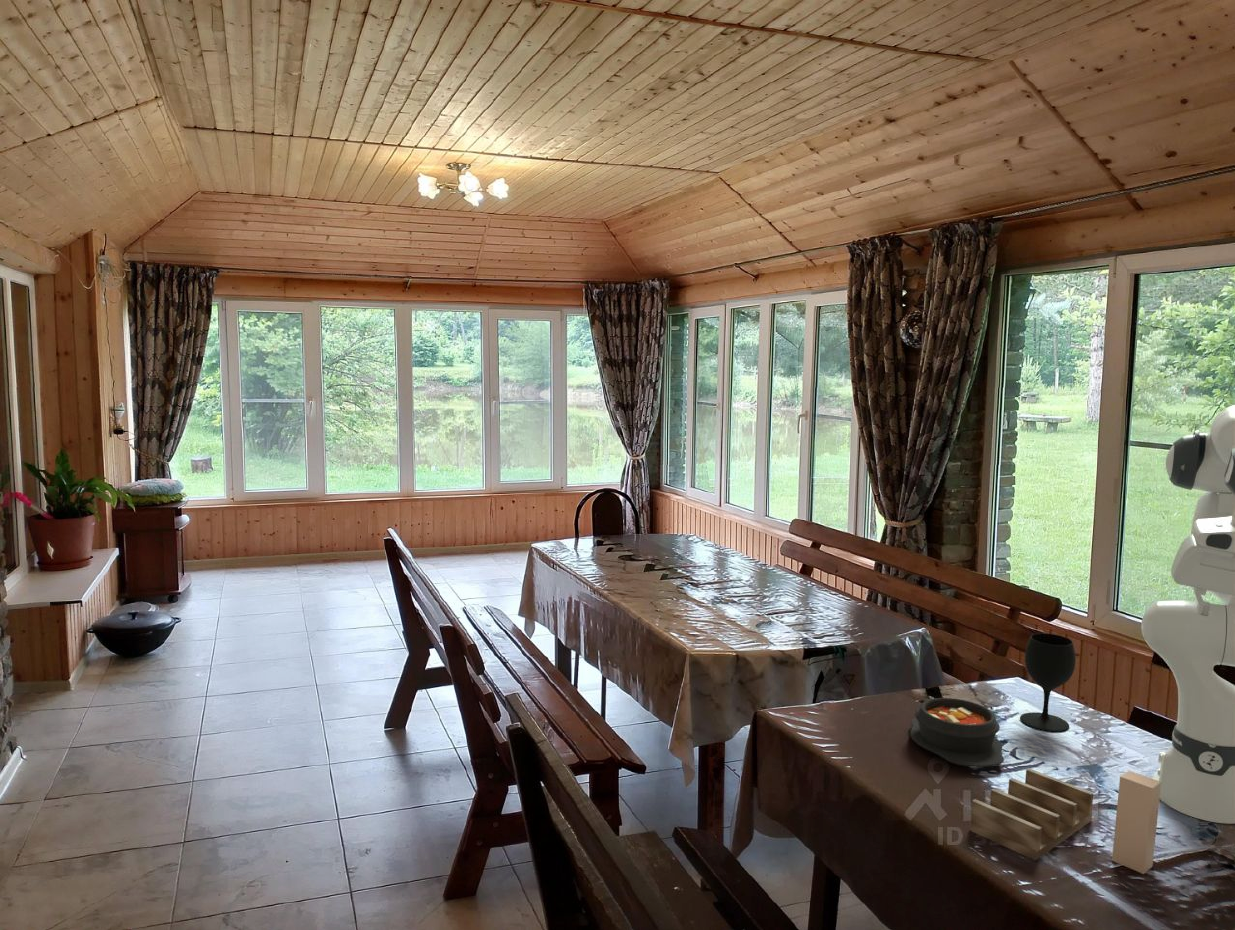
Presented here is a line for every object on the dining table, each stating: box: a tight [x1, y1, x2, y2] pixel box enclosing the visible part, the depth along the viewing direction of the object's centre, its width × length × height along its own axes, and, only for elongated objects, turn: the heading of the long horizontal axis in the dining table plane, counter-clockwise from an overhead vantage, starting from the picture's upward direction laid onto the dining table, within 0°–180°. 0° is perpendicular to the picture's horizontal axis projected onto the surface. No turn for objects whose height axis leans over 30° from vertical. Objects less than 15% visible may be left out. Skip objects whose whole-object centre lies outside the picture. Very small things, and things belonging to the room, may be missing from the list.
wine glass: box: [1019, 632, 1077, 733], centre depth 207 cm, size 10×10×20 cm
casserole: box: [909, 697, 1005, 768], centre depth 194 cm, size 25×19×8 cm
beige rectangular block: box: [1111, 770, 1161, 875], centre depth 151 cm, size 5×4×15 cm
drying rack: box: [969, 767, 1094, 861], centre depth 163 cm, size 12×21×6 cm, turn 129°
